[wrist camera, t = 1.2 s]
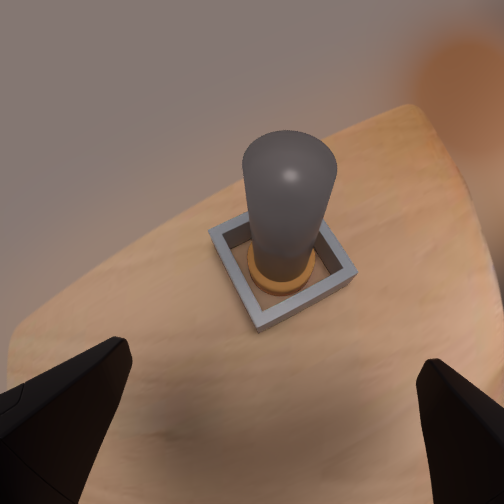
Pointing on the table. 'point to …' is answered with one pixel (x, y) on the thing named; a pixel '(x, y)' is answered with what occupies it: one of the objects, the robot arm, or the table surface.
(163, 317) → the table surface
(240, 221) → the socket
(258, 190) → the plug
